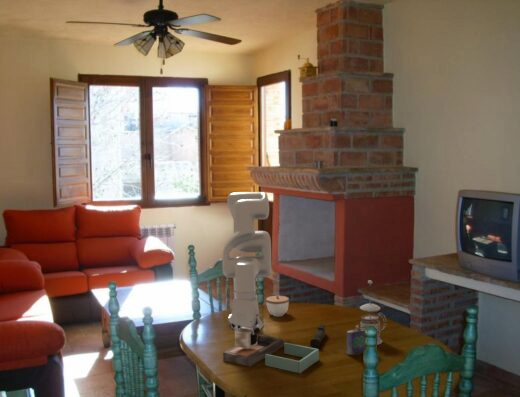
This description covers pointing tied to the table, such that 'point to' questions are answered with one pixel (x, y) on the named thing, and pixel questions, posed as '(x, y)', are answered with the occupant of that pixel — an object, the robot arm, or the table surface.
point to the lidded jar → (277, 305)
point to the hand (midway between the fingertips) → (246, 341)
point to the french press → (371, 317)
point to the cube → (243, 337)
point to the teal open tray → (293, 365)
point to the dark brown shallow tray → (253, 351)
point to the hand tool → (318, 337)
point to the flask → (355, 341)
